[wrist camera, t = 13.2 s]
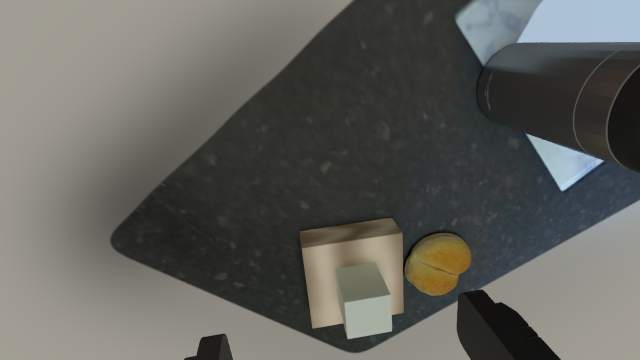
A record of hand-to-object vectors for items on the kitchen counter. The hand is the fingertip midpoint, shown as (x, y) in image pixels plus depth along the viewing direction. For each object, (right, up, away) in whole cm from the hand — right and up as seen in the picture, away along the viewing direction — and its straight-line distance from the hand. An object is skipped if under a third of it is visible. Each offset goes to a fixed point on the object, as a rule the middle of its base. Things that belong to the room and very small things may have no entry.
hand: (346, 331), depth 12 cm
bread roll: (+15, -6, +37) cm, 40 cm away
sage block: (+4, -7, +31) cm, 33 cm away
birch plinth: (+3, -6, +35) cm, 36 cm away
